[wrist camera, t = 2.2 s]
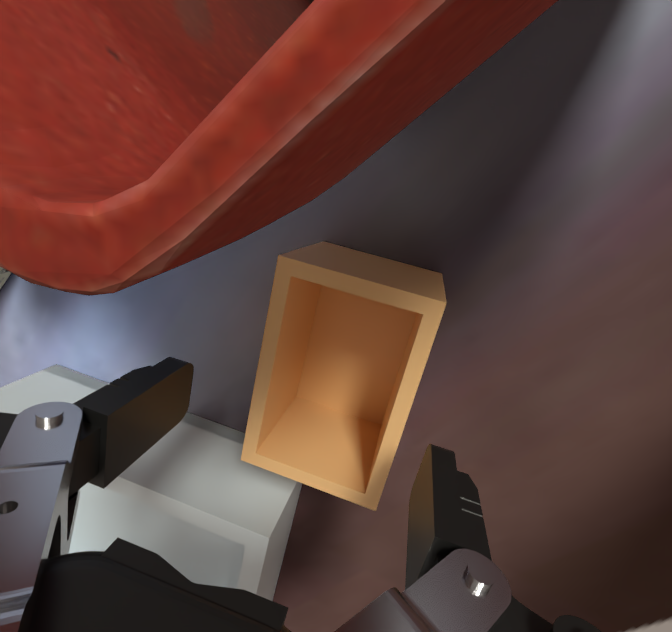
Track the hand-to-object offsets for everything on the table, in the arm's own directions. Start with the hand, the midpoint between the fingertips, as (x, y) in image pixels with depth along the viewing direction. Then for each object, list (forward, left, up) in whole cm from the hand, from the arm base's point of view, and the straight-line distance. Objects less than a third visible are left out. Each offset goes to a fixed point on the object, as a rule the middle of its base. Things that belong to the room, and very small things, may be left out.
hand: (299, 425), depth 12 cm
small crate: (0, 0, -8) cm, 8 cm away
